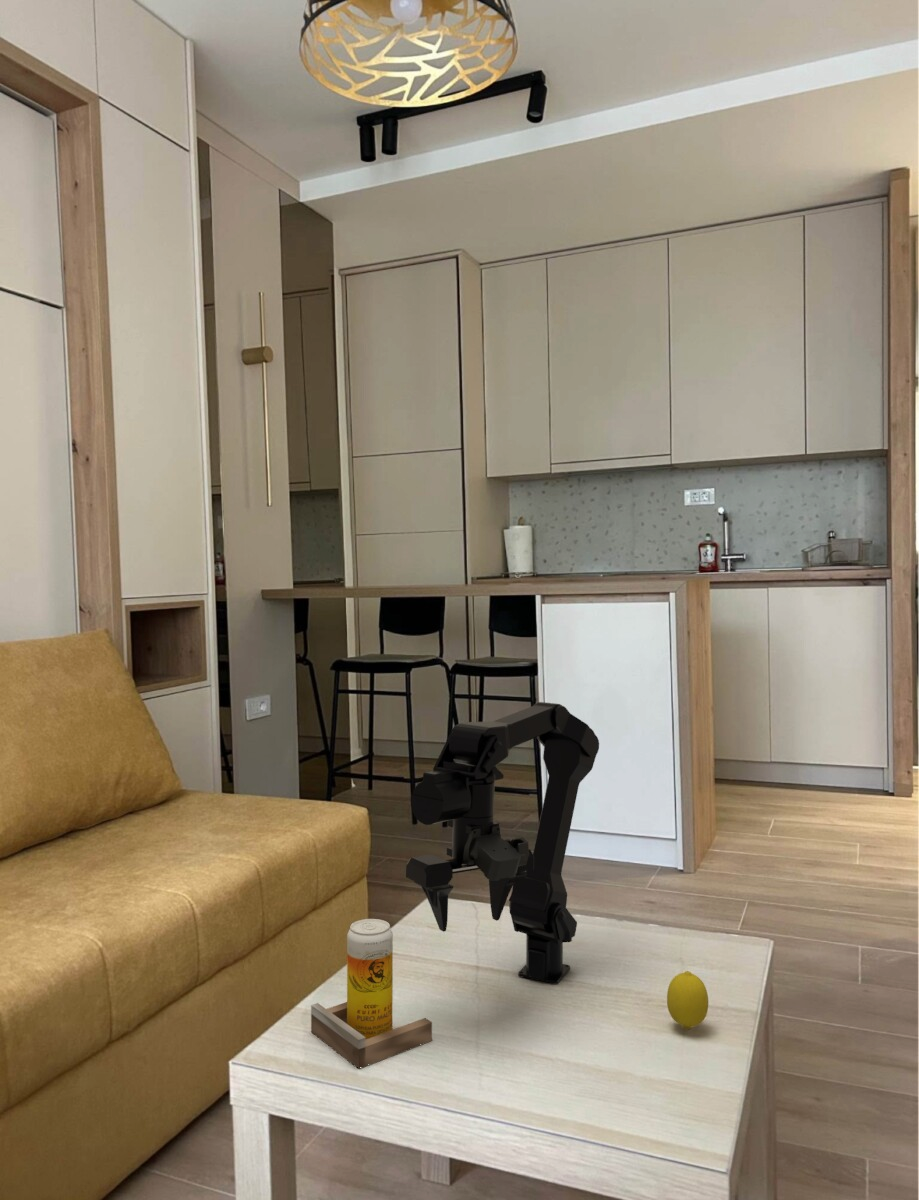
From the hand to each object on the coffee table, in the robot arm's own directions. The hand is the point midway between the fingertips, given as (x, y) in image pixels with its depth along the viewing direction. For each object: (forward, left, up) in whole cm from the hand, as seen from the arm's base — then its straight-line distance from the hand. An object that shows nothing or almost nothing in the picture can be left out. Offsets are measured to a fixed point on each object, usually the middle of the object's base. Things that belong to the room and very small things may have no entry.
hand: (469, 925), depth 127 cm
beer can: (+11, -9, -13) cm, 20 cm away
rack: (+11, -9, -13) cm, 20 cm away
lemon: (-10, +28, -13) cm, 33 cm away
